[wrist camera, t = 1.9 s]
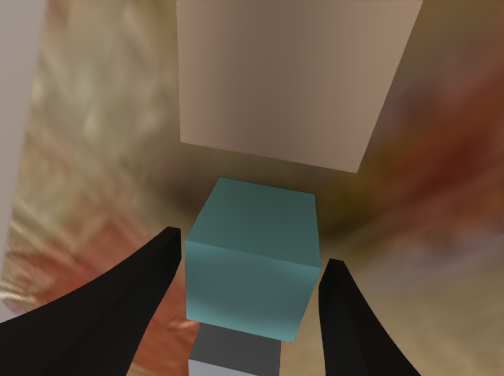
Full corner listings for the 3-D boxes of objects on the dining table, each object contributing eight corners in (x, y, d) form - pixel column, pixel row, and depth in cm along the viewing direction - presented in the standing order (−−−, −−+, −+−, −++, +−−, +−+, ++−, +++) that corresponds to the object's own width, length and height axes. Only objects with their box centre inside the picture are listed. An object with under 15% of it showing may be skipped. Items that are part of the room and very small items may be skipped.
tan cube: (378, -26, 9) (455, -83, 4) (334, 120, 11) (356, 172, 7) (232, -44, 9) (172, -114, 5) (223, 102, 12) (180, 141, 7)
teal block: (314, 193, 13) (321, 268, 9) (294, 260, 16) (292, 342, 12) (220, 176, 14) (184, 240, 9) (215, 244, 16) (186, 318, 12)
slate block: (283, 298, 18) (278, 380, 14) (272, 337, 21) (265, 415, 16) (214, 283, 18) (188, 358, 14) (211, 323, 21) (189, 396, 17)
